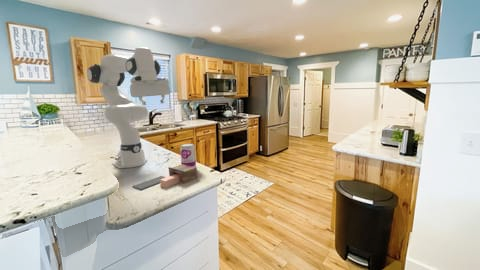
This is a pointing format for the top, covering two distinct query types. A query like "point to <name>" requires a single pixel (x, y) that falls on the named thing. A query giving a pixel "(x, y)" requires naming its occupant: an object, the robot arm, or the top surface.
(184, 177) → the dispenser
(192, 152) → the supplement can
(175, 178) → the pink rectangular block
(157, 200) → the top surface
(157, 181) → the mat
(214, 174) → the top surface
